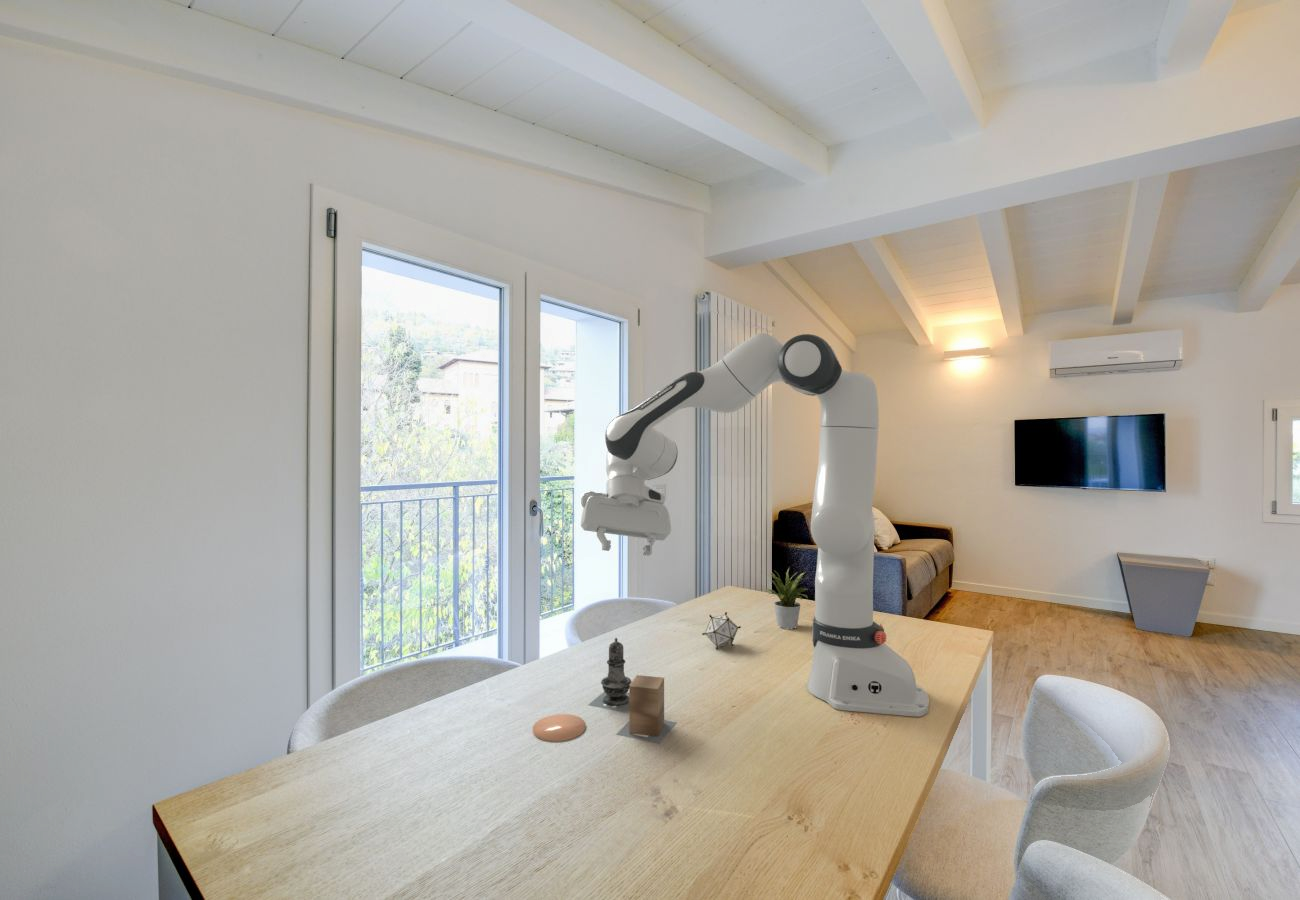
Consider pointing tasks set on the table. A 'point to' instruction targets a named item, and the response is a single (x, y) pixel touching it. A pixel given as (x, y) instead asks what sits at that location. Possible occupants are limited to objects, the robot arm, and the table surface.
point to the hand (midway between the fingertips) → (627, 552)
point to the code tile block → (664, 731)
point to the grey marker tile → (599, 703)
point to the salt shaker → (616, 677)
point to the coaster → (559, 727)
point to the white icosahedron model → (721, 630)
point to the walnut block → (646, 705)
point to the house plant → (787, 601)
